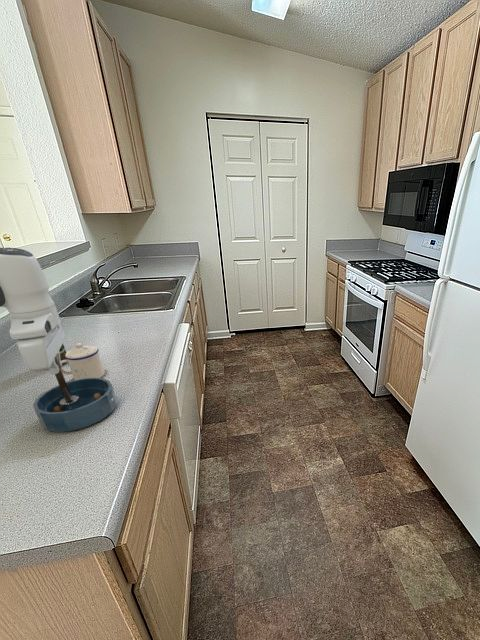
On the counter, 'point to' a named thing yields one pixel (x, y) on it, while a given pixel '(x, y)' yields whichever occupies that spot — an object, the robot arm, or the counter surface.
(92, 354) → the teacup with lid
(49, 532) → the counter surface
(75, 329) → the counter surface
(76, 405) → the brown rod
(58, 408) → the bead
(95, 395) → the bead
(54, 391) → the bowl
